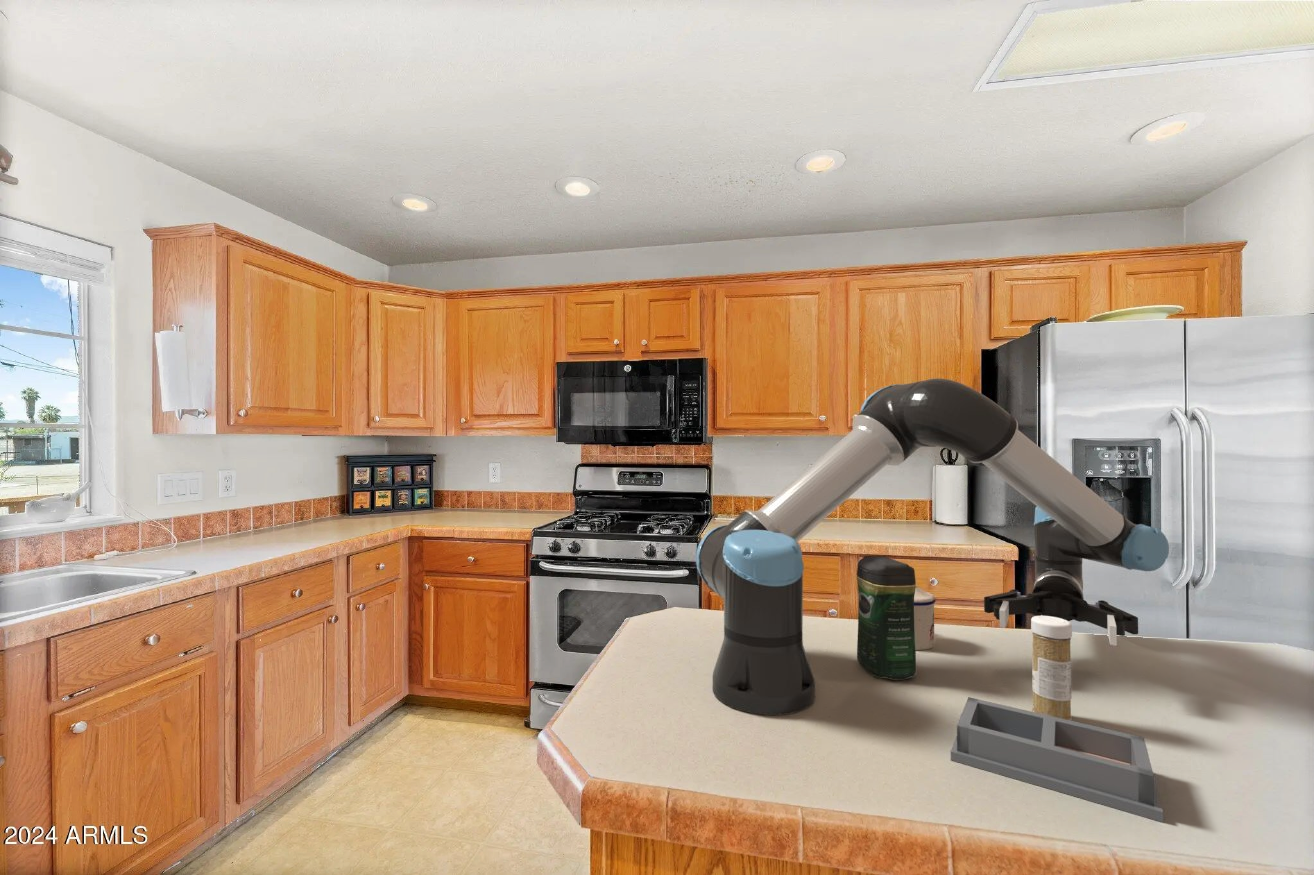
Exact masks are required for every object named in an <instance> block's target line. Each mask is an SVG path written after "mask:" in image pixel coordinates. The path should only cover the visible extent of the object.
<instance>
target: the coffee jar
mask: <svg viewBox="0 0 1314 875" xmlns="http://www.w3.org/2000/svg"><path fill="white" fill-rule="evenodd" d="M856 581H857V590H858V614H857V616H858V617H857V641H856V642H857V643H856V646H857V647H856V659H857V662H858V664H859V665H860V666H861V667H862V669H864V670H866V672H869V673H870V674H871V675H873V676H874V677H876V678H883V679H890V680H892V681H904V680H906V679H910V678H913V677H915V676H916V674H917V650H915V630H914V595H915V589H916V586H917V584H916V583H917V582H916V571H915V568H914V567H912V566H910V565H909V564H908V563H905V562H902V561H898V560H895V559H893V558H891V557H888V556H886V555H864V556H863V557H862V558H861V559H859V561H858V563H857V570H856Z"/></svg>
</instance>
